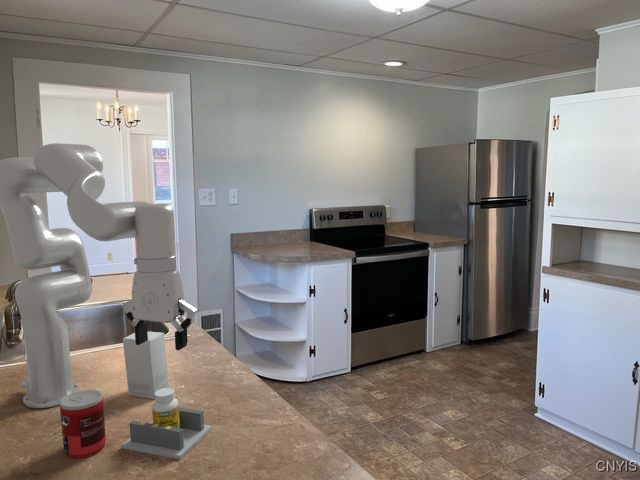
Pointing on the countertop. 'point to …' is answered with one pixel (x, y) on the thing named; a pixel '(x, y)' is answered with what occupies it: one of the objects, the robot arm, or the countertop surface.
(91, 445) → the canned food
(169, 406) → the supplement bottle
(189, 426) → the socket block
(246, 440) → the countertop surface
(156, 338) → the skincare box
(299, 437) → the countertop surface
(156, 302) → the robot arm
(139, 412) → the countertop surface
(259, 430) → the countertop surface
